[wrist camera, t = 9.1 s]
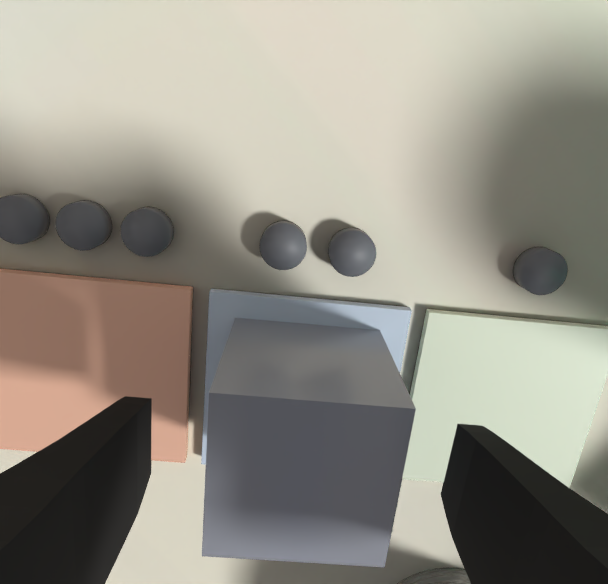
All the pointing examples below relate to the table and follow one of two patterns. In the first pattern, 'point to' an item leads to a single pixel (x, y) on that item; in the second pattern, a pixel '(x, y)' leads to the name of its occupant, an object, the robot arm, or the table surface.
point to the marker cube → (304, 445)
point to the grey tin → (438, 577)
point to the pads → (237, 304)
